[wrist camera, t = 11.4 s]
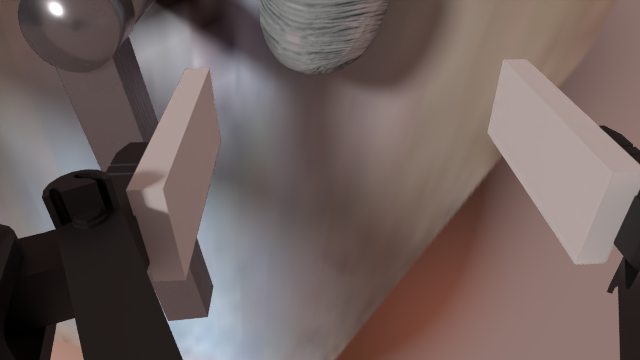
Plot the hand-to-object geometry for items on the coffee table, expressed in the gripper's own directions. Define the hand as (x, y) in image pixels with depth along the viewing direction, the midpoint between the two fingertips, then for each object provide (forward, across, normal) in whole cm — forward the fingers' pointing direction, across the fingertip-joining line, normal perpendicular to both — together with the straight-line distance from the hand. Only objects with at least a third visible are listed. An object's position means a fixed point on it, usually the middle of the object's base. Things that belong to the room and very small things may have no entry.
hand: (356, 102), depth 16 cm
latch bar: (+12, -12, -10) cm, 20 cm away
